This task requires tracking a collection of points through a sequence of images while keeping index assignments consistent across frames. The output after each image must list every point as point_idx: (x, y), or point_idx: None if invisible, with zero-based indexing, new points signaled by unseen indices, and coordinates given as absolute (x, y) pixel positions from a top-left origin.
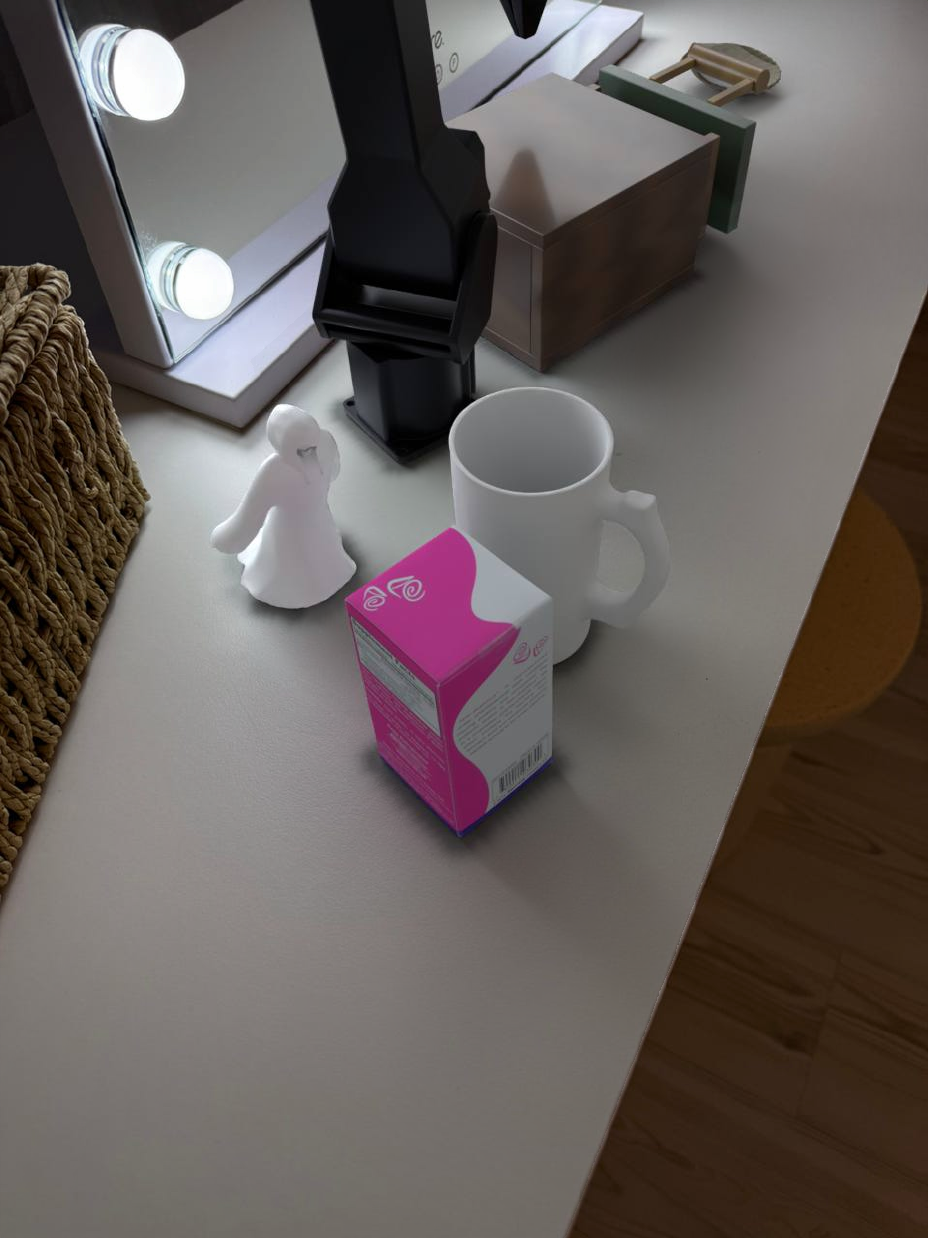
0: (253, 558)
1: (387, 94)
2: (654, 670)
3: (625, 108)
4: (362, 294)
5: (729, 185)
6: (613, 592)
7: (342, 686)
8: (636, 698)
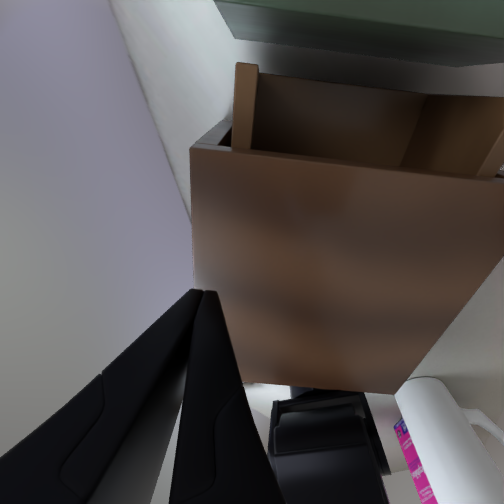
0: None
1: None
2: (474, 384)
3: (377, 186)
4: (286, 411)
5: (495, 61)
6: (476, 421)
7: None
8: (469, 392)
